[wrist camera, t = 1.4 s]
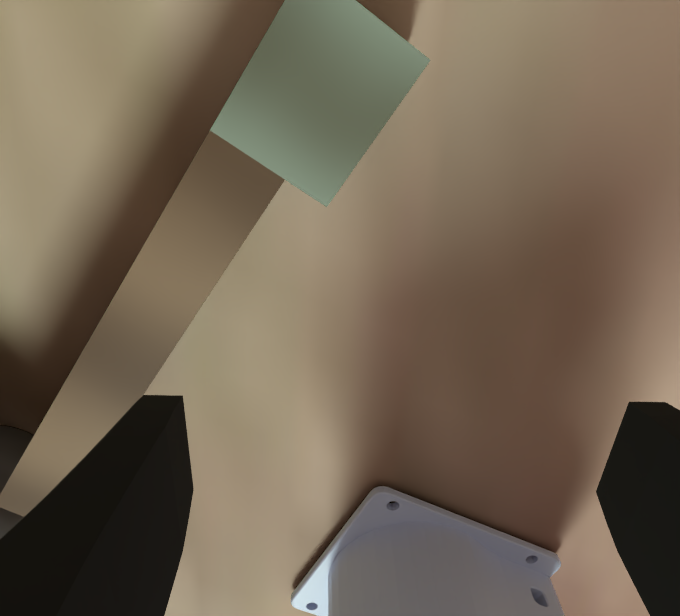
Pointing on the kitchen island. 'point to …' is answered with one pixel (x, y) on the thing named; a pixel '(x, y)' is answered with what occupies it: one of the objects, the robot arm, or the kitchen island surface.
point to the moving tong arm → (227, 210)
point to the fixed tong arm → (10, 467)
